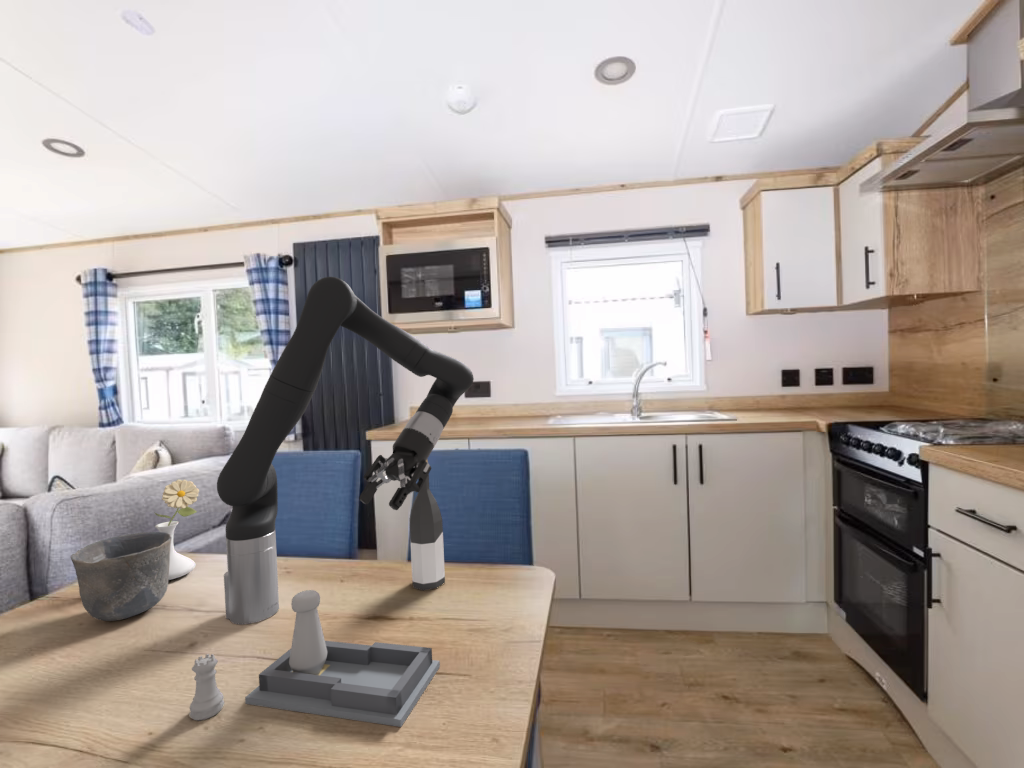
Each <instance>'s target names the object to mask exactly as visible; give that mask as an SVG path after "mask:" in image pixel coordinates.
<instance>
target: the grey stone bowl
mask: <svg viewBox="0 0 1024 768" xmlns="http://www.w3.org/2000/svg"><path fill="white" fill-rule="evenodd" d="M171 539H172V537H171V536H170V534H168V533H165V532H159V531H149V532H148V531H145V532H135V533H128V534H122V535H117V536H113V537H110V538H105V539H102V540H98V541H95V542H93V543H91V544H88V545H86V546H83V548H80V549H78V550H77V551H76V552H75V553H72V554H71V555H70V560H71V561H72V564H73V567H74V570H75V574H76V578H77V584H78V590H79V591H78V592H79V597H80V600H81V603H82V606H83V608H84V610H86V611H87V613H88V614H89V615H90V616H91V617H92V618H94V619H95V620H99V621H105V622H106V621H107V622H113V621H120V620H121V621H122V620H126V619H128V618H132V617H134V616H137V615H139V614H141V613H143V612H146V611H148V610H149V609H151V608H153V607H154V606H156V605H157V604H158V603H159V602H161V601H162V599H163V598H164V596H165V594H166V593H167V590H168V585H169V580H168V577H169V565H170V544H171Z"/></svg>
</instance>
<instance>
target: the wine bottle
mask: <svg viewBox="0 0 1024 768" xmlns="http://www.w3.org/2000/svg"><path fill="white" fill-rule="evenodd" d="M426 462H427V463H428V464H429V465H430V463H429V461H428V459H427V460H426ZM442 516H443V515H442V514H441V510H440V507H439V504H438V502H437V499H436V498H435V497H434V494H433V493H432V491H431V490H430V473H429V474H428V476H427V478H426V480H425V482H424V484H423V486H422V488H421V490H420V491H419V492H417V494H416V496H415V498H414V500H413V503H412V506H411V510H410V514H409V539H410V540H409V541H410V562H411V563H410V564H411V579H412V580H411V581H412V587H413V589H416V590H420V591H428V590H429V589H430V590H435V589H434V588H436V589H438V588H439V586H440V585H441V586H443V585H444V584H446V574H445V573H446V572H445V571H446V570H445V553H444V551H445V550H444V547H445V546H444V530H443V529H444V528H443V517H442ZM443 583H444V584H443ZM442 584H443V585H442ZM441 586H440V587H441ZM437 587H438V588H437ZM430 590H429V591H430Z"/></svg>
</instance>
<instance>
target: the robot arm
mask: <svg viewBox="0 0 1024 768" xmlns="http://www.w3.org/2000/svg"><path fill="white" fill-rule="evenodd" d="M340 327H342V328H345V330H349V331H351V332H352V333H354V334H356V335H358V336H359V337H361V338H363V339H364V340H366V341H367V342H368V343H370V344H372V345H373V346H374V347H375V348H377V349H378V350H380V351H381V352H382V353H383V354H384V355H386V356H387V357H388V358H390V359H391V360H393V362H396V363H397V364H399V366H401V367H403V368H404V369H406V370H408V371H410V372H411V373H412V374H413V375H416V376H417V377H421V378H422V377H423V378H424V377H426V376H431V377H433V378H434V379H435V380H434V382H433V384H432V385H431V387H430V389H429V391H428V393H427V395H426V397H425V398H424V399H423V400H422V402H421V404H420V405H419V407H418V408H417V410H416V411H415V413H414V414H413V415H412V416H411V417H410V419H409V420H408V422H407V423H406V424H405V426H404V428H403V429H402V430H401V432H400V433H399V434H398V435H399V436H397V438H396V439H395V441H394V443H393V445H392V454H391V455H390V456H389V457H387V458H386V457H384V456H383V454H379V455H378V456H377V457H376V459H375V460H374V461H373V462H372V464H371V466H370V467H369V468H368V470H367V471H366V473H364V475H363V479H364V480H365V481H366V482H367V484H366V486H365V487H364V489H363V490H362V492H361V493H360V495H359V498H358V499H359V501H360V502H362V504H365V505H368V504H369V503H370V501H371V500H372V499H373V497H374V496H375V494H376V493H377V491H378V489H379V488H380V487H381V486H382V485H384V484H388V483H390V482H391V481H394V482H395V481H398V482H400V484H399V487H398V488H397V489H396V491H395V492H394V494H393V495H392V497H391V499H390V500H389V502H388V507H390V508H391V509H392V510H393V511H399V509H400V507H402V505H403V504H404V503H405V501H406V499H407V497H408V495H411V494H412V493H414V492H415V493H418V492H419V491H420V490H421V488H422V486H423V484H424V482H425V480H426V478H427V476H428V474H429V475H430V472H431V470H432V466H431V465H430V463H429V462H428V463H429V464H428V463H427V462H426V460H427V461H428V458H429V457H430V456H431V453H432V452H433V450H434V449H435V447H436V445H437V443H438V442H439V440H440V438H441V435H442V433H443V431H444V429H445V427H446V425H447V424H448V423H449V420H450V419H451V417H452V415H453V411H454V406H455V404H457V402H458V400H459V399H460V398H461V396H463V395H464V394H465V393H466V392H467V391H468V390H469V389H470V388H471V387H472V385H473V384H474V373H473V372H472V371H471V369H470V367H469V366H468V365H467V364H466V363H465V362H463V361H461V360H459V359H457V358H454V357H452V356H450V355H447V354H446V353H442V352H440V351H437V350H434V349H432V348H431V347H430V346H428V344H425V342H423V341H422V340H419V338H417V337H415V336H414V335H412V334H411V333H409V332H407V331H405V330H404V329H403V328H400V327H399V326H398V325H395V324H393V323H392V322H390V321H388V320H387V319H385V318H383V317H382V316H380V315H379V314H378V313H376V312H375V311H374V310H373V309H371V308H370V307H369V306H368V305H367V304H365V303H364V302H363V301H362V300H361V299H360V298H359V297H358V296H357V295H356V294H355V293H354V291H353V290H352V288H351V286H350V285H349V284H348V283H347V282H346V281H344V280H343V279H342V278H340V277H336V276H325V277H322V278H320V279H318V280H317V281H315V282H314V283H313V285H311V287H310V288H309V291H308V293H307V296H306V299H305V302H304V305H303V308H302V310H301V313H300V316H299V319H298V322H297V324H296V327H295V330H294V331H293V334H292V336H291V338H290V339H289V341H288V342H287V344H286V346H285V348H284V349H283V351H282V352H281V354H280V357H279V358H278V359H277V362H276V364H275V366H274V368H273V370H271V371H272V372H271V373H270V375H269V377H268V379H267V381H266V384H265V385H264V387H263V390H262V392H261V395H260V396H259V399H258V401H257V404H256V406H255V408H254V410H253V412H252V414H251V416H250V419H249V422H248V424H247V426H246V428H245V430H244V432H243V435H242V437H241V438H240V440H239V442H238V444H237V445H236V447H235V448H234V450H233V452H232V453H231V455H230V456H229V458H228V460H227V461H226V463H225V464H224V466H223V468H222V469H221V470H220V472H219V474H218V478H217V482H216V490H217V495H218V497H219V498H220V500H221V501H222V502H223V503H224V504H225V505H228V506H230V507H231V511H230V512H231V513H230V516H229V518H228V520H227V521H226V523H225V524H226V525H225V543H226V545H225V546H226V562H227V563H226V565H227V567H226V568H227V571H226V572H224V574H223V583H224V584H223V586H224V605H225V606H224V608H225V619H226V620H227V619H228V620H229V621H230V622H231V623H232V624H236V625H250V624H255V623H258V622H261V621H264V620H267V619H269V618H271V617H273V616H274V615H276V613H278V611H279V610H278V609H280V603H279V602H280V599H279V578H278V577H279V576H278V574H279V573H278V556H277V552H278V551H277V536H276V519H277V516H278V511H279V510H278V509H279V508H278V505H279V504H278V503H279V502H278V501H279V498H278V493H279V492H278V476H277V470H276V468H275V466H274V465H273V460H274V458H275V456H276V455H277V452H278V450H279V449H280V446H281V445H282V443H284V440H285V439H287V437H288V435H289V434H290V433H291V432H292V430H293V429H294V428H295V427H296V425H297V424H298V423H299V421H300V420H301V418H302V417H303V415H304V413H306V410H307V408H308V406H309V404H310V402H311V400H312V398H313V395H314V394H315V391H316V389H317V387H318V384H319V382H320V379H321V377H322V376H321V375H322V373H323V368H324V364H325V360H326V357H327V353H328V350H329V347H330V346H331V343H332V341H333V339H334V337H335V336H336V334H337V332H338V330H339V329H340ZM410 372H409V373H410ZM373 473H374V474H373ZM384 473H385V474H384ZM372 474H373V475H372ZM379 478H380V479H379ZM378 479H379V480H378Z"/></svg>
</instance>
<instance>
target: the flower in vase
mask: <svg viewBox="0 0 1024 768" xmlns="http://www.w3.org/2000/svg"><path fill="white" fill-rule="evenodd" d="M164 487H165V488H164V489H163V492H162V498H161V500H162V501H163V502H164V503H165V504H166V505H167V507H168V508H173V509H176V510H175V513H173V516H172V517H171V516H169V515H166V514H160V513H157V512H154V515H155V516H157V517H161V518H168V519H170V520H169V521H166V522H161V523H158V524H155V525H154V528H155V529H157V530H158V532H165V533H168V534H170V536H171V537H172V539H171V544H170V565H169V577H168V581H170V580H171V581H172V580H174V579H177V578H181V577H183V576H186V575H187V574H189V573H190V572H192V571H193V570H194V569H195V567H196V565H197V564H196V562H195V561H194V560H193V559H191V558H190V557H188V556H186V555H183V554H181V553H179V552H177V551H176V549H175V547H174V537H175V535H174V534H175V530H176V528H177V525H179V520H178V521H176V520H174V521H173V519H174V518H175V516H176V515H177V513H178V515H180V516H182V517H183V518H185V517H189V516H191V515H194V514H196V513H197V510H196V509H194V508H193V507H191V505H193V504H194V503H196V502H197V500H198V498H197V497H199V493H200V489H199V488H197V485H195V484H194V482H193V481H191V480H187V479H183V480H182V479H177V480H175V481H171V483H170V484H167V485H165V486H164ZM189 506H190V507H189Z"/></svg>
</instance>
